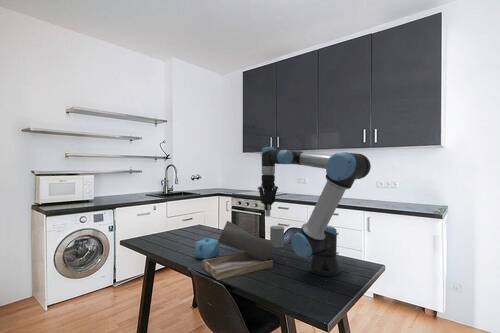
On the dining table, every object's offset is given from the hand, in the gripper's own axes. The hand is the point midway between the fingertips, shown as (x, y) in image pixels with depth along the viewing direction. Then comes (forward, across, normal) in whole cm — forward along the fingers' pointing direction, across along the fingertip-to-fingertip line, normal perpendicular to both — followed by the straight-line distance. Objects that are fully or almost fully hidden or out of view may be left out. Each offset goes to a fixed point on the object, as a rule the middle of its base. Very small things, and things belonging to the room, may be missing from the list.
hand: (267, 215), depth 153 cm
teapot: (+26, +28, -21) cm, 43 cm away
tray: (+25, +19, 0) cm, 32 cm away
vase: (+21, -2, 0) cm, 22 cm away
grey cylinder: (+26, -23, -21) cm, 40 cm away
